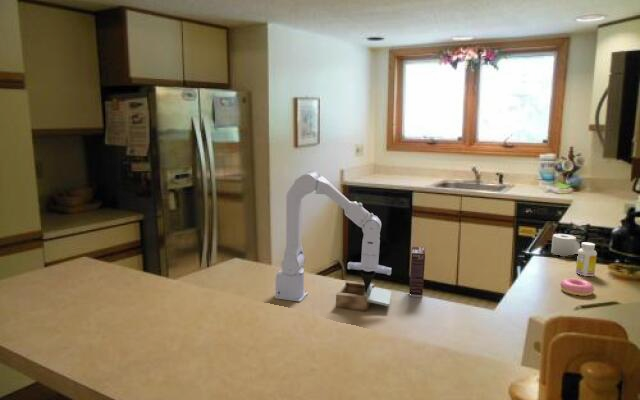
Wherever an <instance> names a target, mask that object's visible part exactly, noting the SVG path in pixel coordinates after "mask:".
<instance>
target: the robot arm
mask: <svg viewBox="0 0 640 400" xmlns="http://www.w3.org/2000/svg"><path fill="white" fill-rule="evenodd" d="M314 191H315V192H314ZM313 192H314V194H315V195H325V196H326V197H328V198H329V199H330V200H331V201H332V202H334V203H335V204H337V205H338V206H339V207H341V208H342V210H343V211H344V215H345V216H346V217H347V218H348V219H349V220H351V221H352V222H353V224H355V225H356V226H358V227H359V228H361V231H362V233H363V237H362V241H361V242H362V243H361V255H360V256H361V259H360V262H356V261H355V262H353V261H349V262H348V263H347V265H346V266H347V270H357V271H361V272H360V276H361V278H362V282H364V284H365V293H367V289H368V287H369V285H370V283H372V281H373V278H374V277H375V275H376V273H377V274H384V275H387V276H391V274H392V267H388V266H385V265H381V264H379V257H380V244H381V240H380V238H381V234H380V233H381V229H382V221H381V219H380V218H379V217H378V216H377V215H374V213H373V212H371V213H370V212H369V211H368V210H367V209H365V208H364V206H363V203H362V202H357V201H350V200H349V198H347V197H346V196H345V195H344V194H343V193H342V192H341V191H340V190H339V189H337V188H336V186H334V185H333V184H332V183H331V182H330V181H328V179H326V177H324V176H323V175H320V174H319V172H318V171H315V170H309V171H307V172H305V173H304V174H302V175H300V176H299V177H298V178H296V179H295V180H294V182H293V184H292V185H291V187H290V188H289V189H288V191H287V192H286V197H285V199H286V211H285V212H286V213H285V214H286V216H285V217H286V237H285V238H286V240H285V241H286V246H285V250H284V253H283V254H284V255H283V259H282V261H281V265H280V266H281V269H282V270H279V271H277V272H276V276H275V296H274V299H278V300H285V301H291V302H293V301H294V302H302V301H303V299H304V298H305V297H306V296H307V295H308V293H309V292H308V291H305V269H304V268H303V265H304V264H305V262H306V256H305V254H304V250H303V249H304V248H303V245H302V199H303V198H305V197H306V196H307V195H310V194H312V193H313Z"/></svg>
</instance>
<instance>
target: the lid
mask: <svg viewBox="0 0 640 400" xmlns="http://www.w3.org/2000/svg"><path fill="white" fill-rule="evenodd" d="M373 284H374V283H372V284H370V285H369V287H368V289H367V293H365V294H364V296H368V297H367V302H371V303H372V304H377V305H381V306H386V307H390V303H391V296H392V290H388V289H384V288H380V287H376V286H375V287H372V285H373Z"/></svg>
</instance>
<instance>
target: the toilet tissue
mask: <svg viewBox="0 0 640 400" xmlns="http://www.w3.org/2000/svg"><path fill="white" fill-rule="evenodd" d="M579 249H581V244H580V242H579V241H577V237H576V236H575V235H571V234H565V233H554V234H553V235H552V240H551V250H550V254H551V253H553V254H555V255H560V256H568V255H574V254H578V250H579ZM553 254H552V255H553Z"/></svg>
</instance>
